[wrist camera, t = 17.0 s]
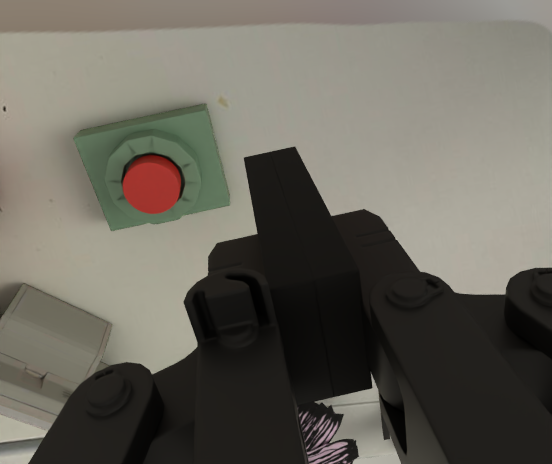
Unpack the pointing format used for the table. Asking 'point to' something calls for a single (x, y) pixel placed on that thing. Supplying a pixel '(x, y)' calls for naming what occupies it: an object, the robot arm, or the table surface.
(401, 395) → the robot arm
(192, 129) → the button box
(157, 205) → the button
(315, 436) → the decorative flower
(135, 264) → the table surface
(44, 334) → the digital clock
